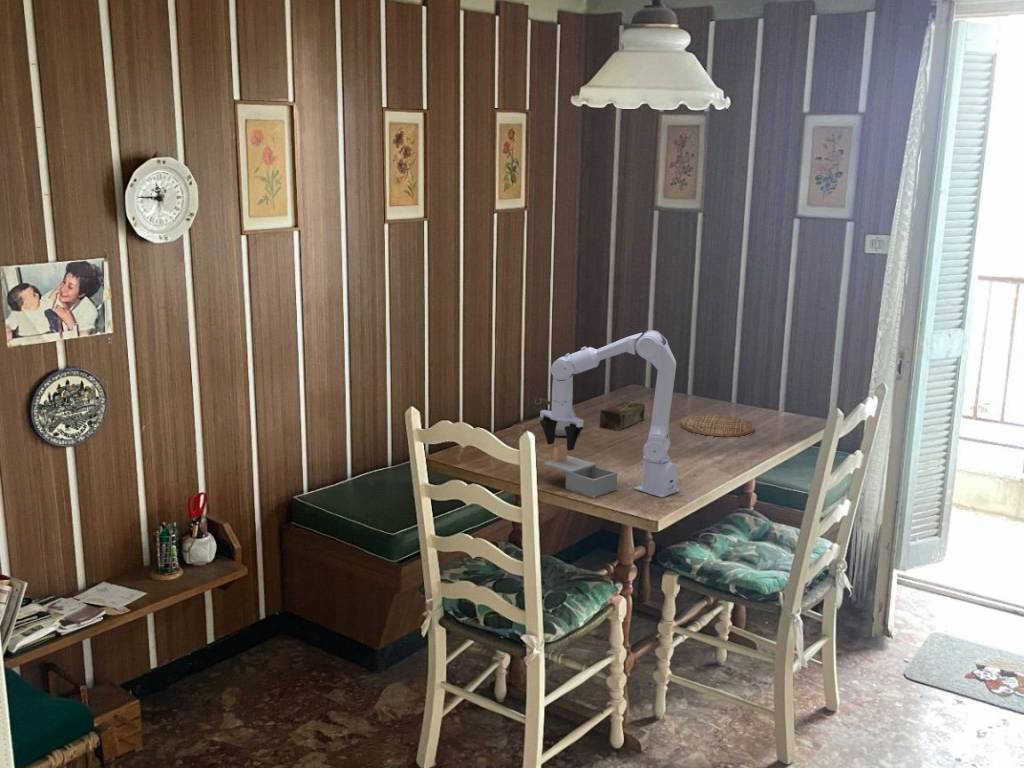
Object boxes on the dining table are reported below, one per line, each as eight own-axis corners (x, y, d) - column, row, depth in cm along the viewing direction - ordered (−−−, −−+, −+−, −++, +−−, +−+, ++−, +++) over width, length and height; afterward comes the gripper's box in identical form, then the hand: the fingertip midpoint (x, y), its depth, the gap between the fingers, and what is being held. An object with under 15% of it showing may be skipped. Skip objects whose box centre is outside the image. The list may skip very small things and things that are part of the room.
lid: (596, 465, 283) (596, 450, 282) (571, 473, 276) (572, 457, 275) (568, 457, 290) (568, 442, 289) (543, 464, 283) (544, 449, 282)
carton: (616, 490, 279) (617, 472, 278) (593, 498, 272) (593, 480, 271) (588, 481, 286) (589, 464, 285) (565, 489, 279) (566, 471, 278)
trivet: (752, 442, 331) (752, 436, 331) (675, 434, 338) (676, 429, 337) (755, 423, 355) (756, 418, 354) (684, 417, 361) (684, 411, 361)
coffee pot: (556, 427, 342) (558, 384, 339) (586, 433, 336) (587, 389, 332) (521, 440, 325) (522, 395, 322) (551, 447, 319) (552, 400, 315)
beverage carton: (645, 420, 354) (646, 402, 353) (618, 432, 339) (619, 413, 337) (625, 417, 359) (626, 399, 357) (598, 428, 343) (599, 409, 342)
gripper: (591, 402, 280) (589, 449, 282) (552, 393, 289) (551, 438, 292) (574, 406, 275) (572, 454, 278) (535, 396, 284) (534, 443, 287)
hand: (560, 446), depth 285 cm, fingers open, 7 cm apart
